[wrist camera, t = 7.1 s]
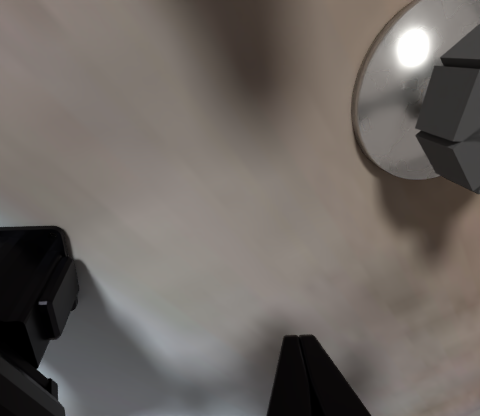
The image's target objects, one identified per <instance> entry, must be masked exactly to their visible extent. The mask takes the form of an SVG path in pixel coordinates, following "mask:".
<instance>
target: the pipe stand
mask: <svg viewBox="0 0 480 416" xmlns="http://www.w3.org/2000/svg"><path fill="white" fill-rule="evenodd" d="M479 24H480V0H414V1H412V2H410V3H409V4H408V5H406V6H405V7H404V8H403V9H401V10H400V11H399V12H398V13H397V14H396V15H395V16H394V17H393V18H392V19H391V20H390V21H389V22H388V23H387V24H386V25H385V26H384V28H383V29H382V30H381V31H380V33H379V34H378V35H377V37H376V38H375V40H374V41H373V43H372V44H371V46H370V47H369V49H368V51H367V53H366V55H365V57H364V59H363V61H362V64H361V66H360V69H359V71H358V74H357V78H356V81H355V85H354V90H353V96H352V109H351V113H352V124H353V129H354V133H355V136H356V139H357V142H358V144H359V146H360V147H361V149H362V151H363V152H364V154H365V155H366V156H367V157H368V159H370V160H371V161H372V162H373V163H374V164H375V165H377V166H379V167H380V168H382V169H383V170H385V171H387V172H388V173H390V174H392V175H395V176H397V177H400V178H405V179H412V180H421V179H430V178H435V177H438V176H440V175H439V174H437V173H435V171H434V169H433V167H432V165H431V163H430V162H429V160H428V158H427V156H426V154H425V153H424V151H423V149H422V147H421V145H420V143H419V142H418V140H417V138H416V136H415V135H416V134H417V133H419V132H420V131H421V130H418V129H415V126H416V123H417V120H418V116H419V113H420V110H421V107H422V104H423V100H424V97H425V94H426V91H427V88H428V85H429V81H430V78H431V75H432V72H433V69H434V66H443V64H442V61H441V59H440V57H441V56H442V55H443V54H445V53H446V52H447V51H448V50H449V49H450V48H452V47H453V46H454V45H455V44H456V43H457V42H459V41H460V40H461V39H462V38H463V37H464V36H466V35H467V34H468V33H469V32H470V31H472V30H473V29H474V28H475V27H476V26H477V25H479Z"/></svg>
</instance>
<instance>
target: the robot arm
mask: <svg viewBox="0 0 480 416" xmlns="http://www.w3.org/2000/svg"><path fill="white" fill-rule="evenodd" d="M50 233H55V234H56V235H57V236H56V237H55V236H52V235H51V234H50ZM78 291H79V285H78V280H77V275H76V270H75V265H74V260H73V259H72V258H71V257H70V256H68V252H67V247H66V242H65V237H64V233H63V230H62V229H61V228H59V227H57V226H26V227H0V416H65V410H64V407H63V406H62V405H61V404H60V403H59V401H58V385H57V383H56V382H54V381H53V380H52V379H51V378H49V379H47V378H46V377H45V376H44V375H43V374H41V373H40V372H39V371H38V370H37V368H38V367H39V364H40V362H41V360H42V357H43V355H44V353H45V350H46V348H47V346H48V343H49V341H50V340H54V339H58V338H59V337H60V336H61V334H62V332H63V329H64V326H65V324H66V321H67V319H68V316H69V314H70V311H73V310H74V309H75V308H76V306H77V304H78V300H77V294H78ZM267 416H371V414H370V413H369V412H368V410H367V409H366V407H365V406H364V405H363V403H362V402H361V400H360V399H359V398H358V396H357V395H356V393H355V392H354V391H353V389H352V388H351V386H350V385H349V384H348V382H347V381H346V379H345V378H344V377H343V375H342V374H341V372H340V371H339V370H338V368H337V367H336V365H335V364H334V363H333V361H332V360H331V358H330V357H329V356H328V354H327V353H326V351H325V350H324V349H323V347H322V346H321V344H320V343H319V342H318V340H317V339H316V338H315V336H313V335H300V336H299V337H298V336H297V335H285V336H284V337H283V341H282V346H281V351H280V355H279V360H278V365H277V369H276V374H275V379H274V383H273V388H272V393H271V397H270V402H269V406H268V411H267Z"/></svg>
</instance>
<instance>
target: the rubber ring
mask: <svg viewBox="0 0 480 416" xmlns="http://www.w3.org/2000/svg"><path fill="white" fill-rule="evenodd" d="M440 59H441V61H442V64H443V66H434V69H433V72H432V75H431V78H430V81H429V85H428V88H427V91H426V94H425V97H424V100H423V104H422V107H421V110H420V113H419V116H418V120H417V123H416V126H415V129H418V130H421V131H420V132H419V133H417V134H416V135H415V136H416V138H417V140H418V142H419V143H420V145H421V147H422V149H423V151H424V153H425V154H426V156H427V158H428V160H429V162H430V163H431V165H432V167H433V169H434V171H435V173H437V174H439V175H440V176H442V177H444V178H446V179H448V180H450V181H452V182H454V183H456V184H458V185H461V186H463V187H465V188H467V189H469V190H471V191H473V192H475V193H477V194H480V24H479V25H477V26H476V27H475V28H474V29H473V30H472V31H470V32H469V33H468V34H467V35H466V36H464V37H463V38H462V39H461V40H460V41H459V42H457V43H456V44H455V45H454V46H453V47H452V48H450V49H449V50H448V51H447V52H446V53H445V54H443V55H442V56H441V57H440Z"/></svg>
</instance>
